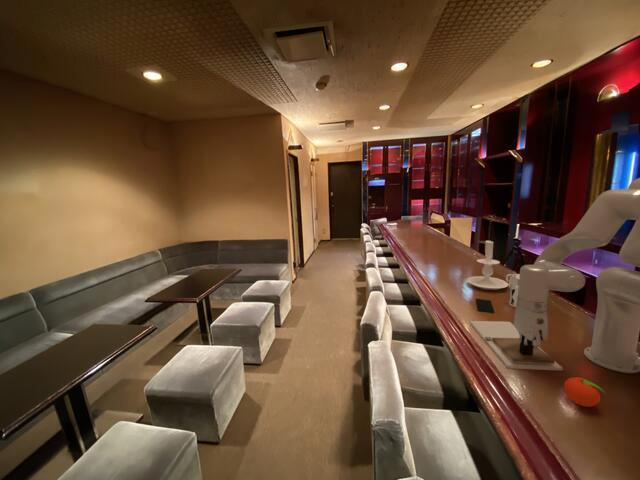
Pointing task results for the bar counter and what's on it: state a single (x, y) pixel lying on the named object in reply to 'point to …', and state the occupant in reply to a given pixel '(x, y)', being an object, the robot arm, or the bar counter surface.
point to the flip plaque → (512, 351)
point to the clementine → (582, 391)
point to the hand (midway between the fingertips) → (525, 354)
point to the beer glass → (513, 289)
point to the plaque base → (506, 331)
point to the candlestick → (488, 272)
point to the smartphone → (484, 306)
